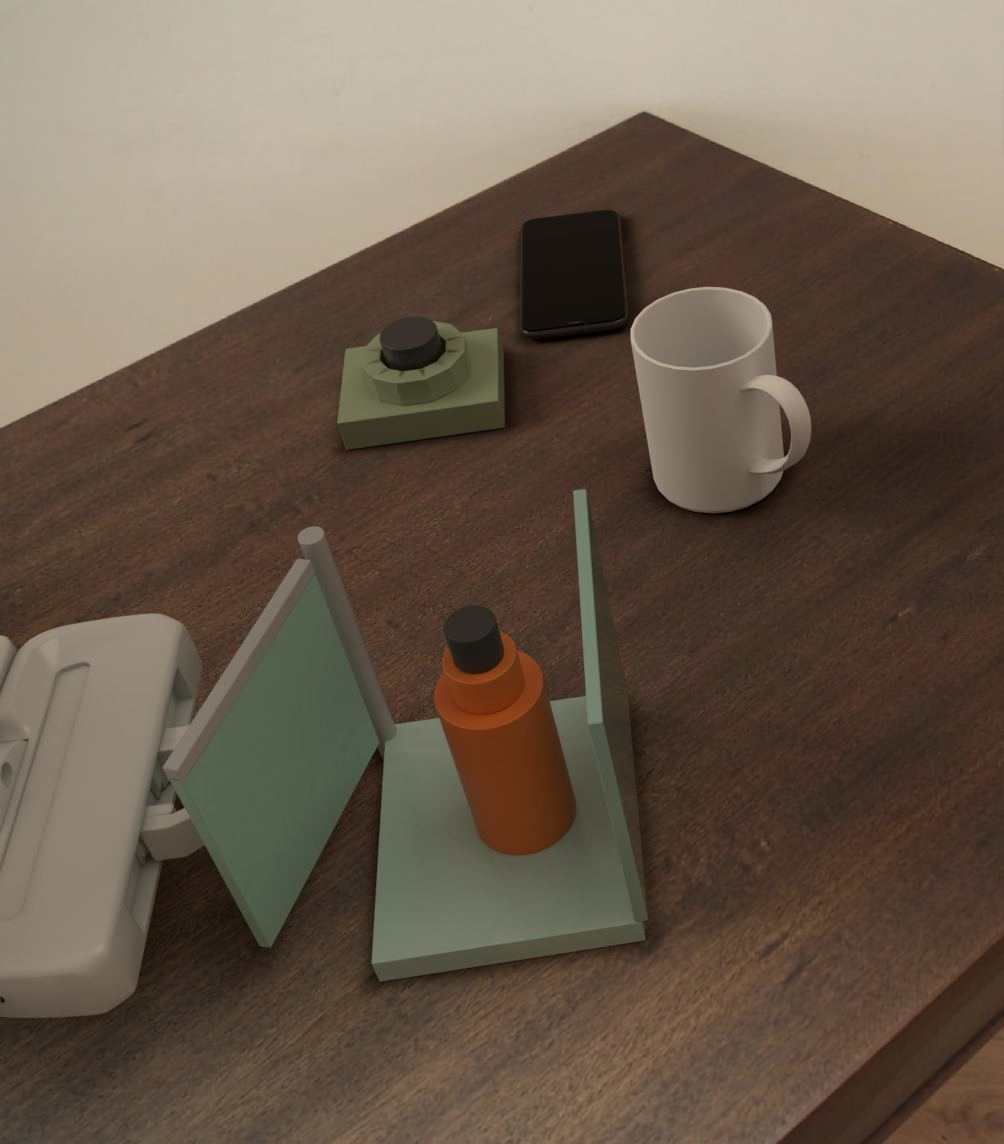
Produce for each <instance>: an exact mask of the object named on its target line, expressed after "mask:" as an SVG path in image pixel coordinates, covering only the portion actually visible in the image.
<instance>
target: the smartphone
mask: <svg viewBox="0 0 1004 1144" xmlns="http://www.w3.org/2000/svg"><path fill="white" fill-rule="evenodd" d="M519 229H520V231H519V234H520V235H519V239H520V240H519V305H518V307H519V332H520V334H521V336H522V337H523V338H525V339H527V340H542V339H543V340H544V339H549V338H550V339H551V338H559V337H566V336H573V335H581V334H589V333H597V332H605V331H612V330H613V331H614V330H619V329H621V328H623V327H624V326H626V325H627V324H628V323H629V319H630V313H629V312H630V311H629V301H628V299H629V297H628V284H627V278H626V277H627V276H626V266H625V256H624V255H625V254H624V243H623V242H624V241H623V231H622V218H621V215H620V213H619V212H618V211H616V210H615V209H597V210H590V211H581V212H575V213H566V214H559V215H551V216H543V217H542V216H541V217H535V218H530V219H527V220H525V221H523V223H522V224H521V226H520V228H519Z"/></svg>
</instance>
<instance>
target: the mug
mask: <svg viewBox="0 0 1004 1144" xmlns="http://www.w3.org/2000/svg"><path fill="white" fill-rule="evenodd" d="M774 339H775V338H774V328H773V320H772V314H771V312H770V311H769V309H768V307H767V306H766V304H765V303H763V302H762V301H760V300H759V298H757V297H756V296H753V295H751V294H749V293H747V292H744V291H741V290H737V289H732V288H729V287H719V286H718V287H717V286H703V287H702V286H701V287H693V288H687V289H683V290H679V291H675V292H672V293H669V294H667V295H665V296H663V297H660V298H657V299H655V301H653V302H651V303H650V304H649V305H647V306H646V307H644V308H643V309H642V310H641V311H640V313H639V314H638V315H637V316H636V317H635V318H634V321H633V323H632V325H631V328H630V344H631V351H632V356H633V362H634V368H635V375H636V382H637V386H638V392H639V393H638V394H639V400H640V404H641V411H642V417H643V424H644V429H645V436H646V441H647V447H648V453H649V459H650V466H651V471H652V472H651V473H652V477H653V481H654V484H655V485H656V488H657V489H658V491H659V492H660V493H661V494H662V495H663V497H665V498H666V500H668V502H670V503H672V504H674V505H676V506H677V507H679V508H681V509H684V510H688V511H691V512H694V513H704V514H722V513H728V512H729V513H731V512H734V511H738V510H742V509H744V508H748V507H750V506H752V505H754V504H756V503H758V502H761V501H763V499H764V498H766V497H768V495H769V494H771V493H772V492H773V491H774V490H775V488H776V487H777V485H778V484H779V482H780V481H781V479H782V476H783V473H784V471H785V470H787V469H789V468H790V467H793V465H795V464H797V463H798V462H799V461H800V460H801V459H802V458H803V457H804V456H805V454H806V452H807V450H808V447H809V445H810V442H811V437H812V420H811V419H812V418H811V415H810V410H809V406H808V405H807V403H806V400H805V398H804V396H803V395H802V394H801V392H800V390H799V389H798V388H797V387H796V386H795V385H794V384H793V383H792V382H791V381H789V380H787V379H786V378H784V377H781V376H778V375H777V373H778V372H777V363H776V352H775V340H774ZM780 407H781V408H782V409H783V411H784V414H785V416H786V418H787V419H788V424H789V428H790V445H789V446H790V447H789V450H788V452H787V455H785V454H784V453H785V452H784V443H783V442H784V441H783V440H784V439H783V432H782V431H783V429H782V419H781V409H780Z"/></svg>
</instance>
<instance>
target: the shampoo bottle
mask: <svg viewBox="0 0 1004 1144" xmlns="http://www.w3.org/2000/svg"><path fill="white" fill-rule="evenodd" d="M443 633H444V637H445V640H446V643H447V645H448V646H447V648H446V650H445V651H444V653H443V655H442V660H441V665H442V666H441V667H442V669H443V670H442V671H443V673H442V674H441V675H440V676H439V678H438V680H437V682H436V684H435V687H434V691H433V703H434V707H435V710H436V712H437V716H438V718H439V719H440V722H441V725H442V728H443V731H444V734H445V737H446V740H447V743H448V746H449V749H450V752H451V755H452V758H453V761H454V764H455V767H456V770H457V773H458V776H459V779H460V781H461V784H462V787H463V790H464V793H465V796H466V799H467V802H468V805H469V808H470V811H471V814H472V817H473V820H474V823H475V826H476V829H477V832H478V834H479V836H480V837H481V839H482V840H483V841H484V842H485V844H487V845H488V846H489V847H491V848H492V849H494V850H496V851H498V852H501V853H505V854H510V855H526V854H531V853H535V852H539V851H541V850H544V849H546V848H548V847H550V846H551V845H553V844H555V843H556V842H557V841H559V840H560V839H561V838H562V837H563V836H564V835H565V834H566V833H567V831H568V830H569V828H570V827H571V825H572V823H573V821H574V818H575V814H576V800H575V796H574V792H573V788H572V785H571V781H570V777H569V773H568V769H567V765H566V761H565V758H564V754H563V750H562V746H561V742H560V738H559V734H558V731H557V727H556V723H555V719H554V715H553V711H552V708H551V704H550V701H551V699H550V695H549V693H548V688H547V684H546V680H545V677H544V674H543V671H542V668H541V666H540V665H539V664H538V662H537V661H536V660H535V659H534V658H532V656H530V655H529V654H528V653H525V652H523V651H521V650H518V649H517V645H516V643H515V641H514V640H513V639H512V637H510V635H508V634H506V633H504V632H502V631H500V628H499V624H498V621H497V617H496V615H495V613H494V611H492V610H491V609H490V608H488V607H487V606H483V605H478V604H472V605H471V604H469V605H466V606H461V607H460V608H458V609H456V610H454V611H453V612H451V613H450V614H449V615H448V616H447V618H446V619H445V621H444V625H443Z"/></svg>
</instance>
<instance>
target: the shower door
mask: <svg viewBox="0 0 1004 1144" xmlns="http://www.w3.org/2000/svg"><path fill="white" fill-rule="evenodd" d="M230 660H231V661H230V662H229V663H228V665H227V667H226V668H225V669H224V671H223V672H222V674H221V676H220V677H219V679H218V681H217V682H216V683H215V685H214V687H213V689H212V690H211V691H210V693H209V695H208V696H207V698H206V699H205V701H204V702H203V704H202V705H201V707H200V708H199V710H198V712H197V713H196V714H195V716H194V717H193V718H192V722H191V724H190V726H189V727H188V729H187V730H186V732H185V733H184V735H183V736H182V738H181V739H180V741H179V743H178V744H177V746H176V747H175V749H174V750H173V752H172V753H171V755H170V757H169V758H168V760H167V761H166V763H165V764H164V766H163V770H164V772H165V774H166V776H167V778H168V779H169V780H170V781H171V783H172V785H173V787H174V789H175V791H176V792H177V797H178V798H179V800H180V801H181V804H182V806H183V807H184V808H185V809H186V811H187V813H188V815H189V816H190V818H191V820H192V822H193V824H194V826H195V828H196V829H197V831H198V833H199V835H200V837H201V839H202V841H203V842H204V844H205V845H204V846H205V848H206V850H207V852H208V854H209V855H210V857H211V859H212V861H213V862H214V864H215V865H214V866H216V868H217V870H218V872H219V874H220V876H221V878H222V879H223V881H224V883H225V886H226V887H227V889H228V890H229V893H230V894H231V896H232V898H233V900H234V902H235V903H236V905H237V907H238V909H239V911H240V913H241V914H242V916H243V918H244V921H245V922H246V924H247V926H248V927H249V929H250V931H251V933H252V935H253V937H254V938H255V940H256V942H257V944H258V946H259V947H262V948H269V949H270V948H272V946H273V945H274V943H275V941H276V939H277V937H278V936H279V933H280V932H281V930H282V928H283V927H284V924H285V922H286V920H287V918H288V917H289V915H290V912H291V911H292V909H293V907H294V906H295V904H296V902H297V899H298V898H299V896H300V894H301V892H302V890H303V888H304V886H305V885H306V882H307V880H308V879H309V877H310V875H311V873H312V871H313V869H314V868H315V865H316V863H317V862H318V860H319V858H320V856H321V854H322V853H323V850H324V848H325V847H326V844H327V842H328V841H329V838H330V837H331V835H332V833H333V831H334V829H335V828H336V826H337V824H338V823H339V822H338V821H339V820H340V818H341V816H342V815H343V812H344V810H345V808H346V806H347V805H348V803H349V801H350V799H351V797H352V795H353V793H354V792H355V790H356V788H357V786H358V784H359V782H360V780H361V778H362V776H363V774H364V772H365V770H366V768H367V767H368V765H369V763H370V762H371V760H372V757H373V755H374V754H375V752H376V750H377V749H378V747H377V746H378V744H379V740H378V737H377V734H376V732H375V729H374V727H373V724H372V721H371V719H370V716H369V714H368V711H367V708H366V706H365V703H364V701H363V698H362V695H361V693H360V690H359V687H358V685H357V682H356V680H355V677H354V674H353V672H352V669H351V667H350V664H349V661H348V659H347V656H346V654H345V651H344V648H343V646H342V643H341V641H340V638H339V635H338V633H337V630H336V628H335V625H334V622H333V620H332V617H331V614H330V612H329V609H328V607H327V604H326V601H325V599H324V596H323V594H322V591H321V588H320V586H319V583H318V581H317V578H316V575H315V570H314V568H313V565H312V563H311V561H310V560H306V559H305V558H304V559H303V558H297V559H296V560H295V561H294V563H293V564H292V566H291V567H290V569H289V570H288V572H287V574H286V575H285V576H284V578H283V580H282V581H281V583H280V584H279V586H278V588H277V589H276V591H275V592H274V593H273V595H272V597H271V598H270V599H269V601H268V602H267V605H266V606H265V608H264V609H263V610H262V612H261V614H260V616H259V617H258V618H257V620H256V622H255V623H254V625H253V626H252V627H251V629H250V631H249V633H248V634H247V635H246V637H245V639H244V640H243V642H242V643H241V645H240V647H239V648H238V650H237V651H236V652H235V654H234V656H233V657H232V659H230Z"/></svg>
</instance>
